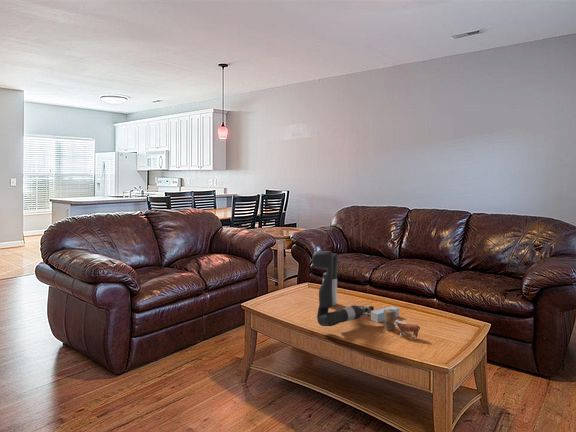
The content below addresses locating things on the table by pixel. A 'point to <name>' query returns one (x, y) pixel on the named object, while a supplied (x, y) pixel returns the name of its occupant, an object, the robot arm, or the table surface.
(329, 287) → the robot arm
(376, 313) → the bluegrey block
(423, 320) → the table surface
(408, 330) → the bull figurine
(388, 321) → the walnut block
